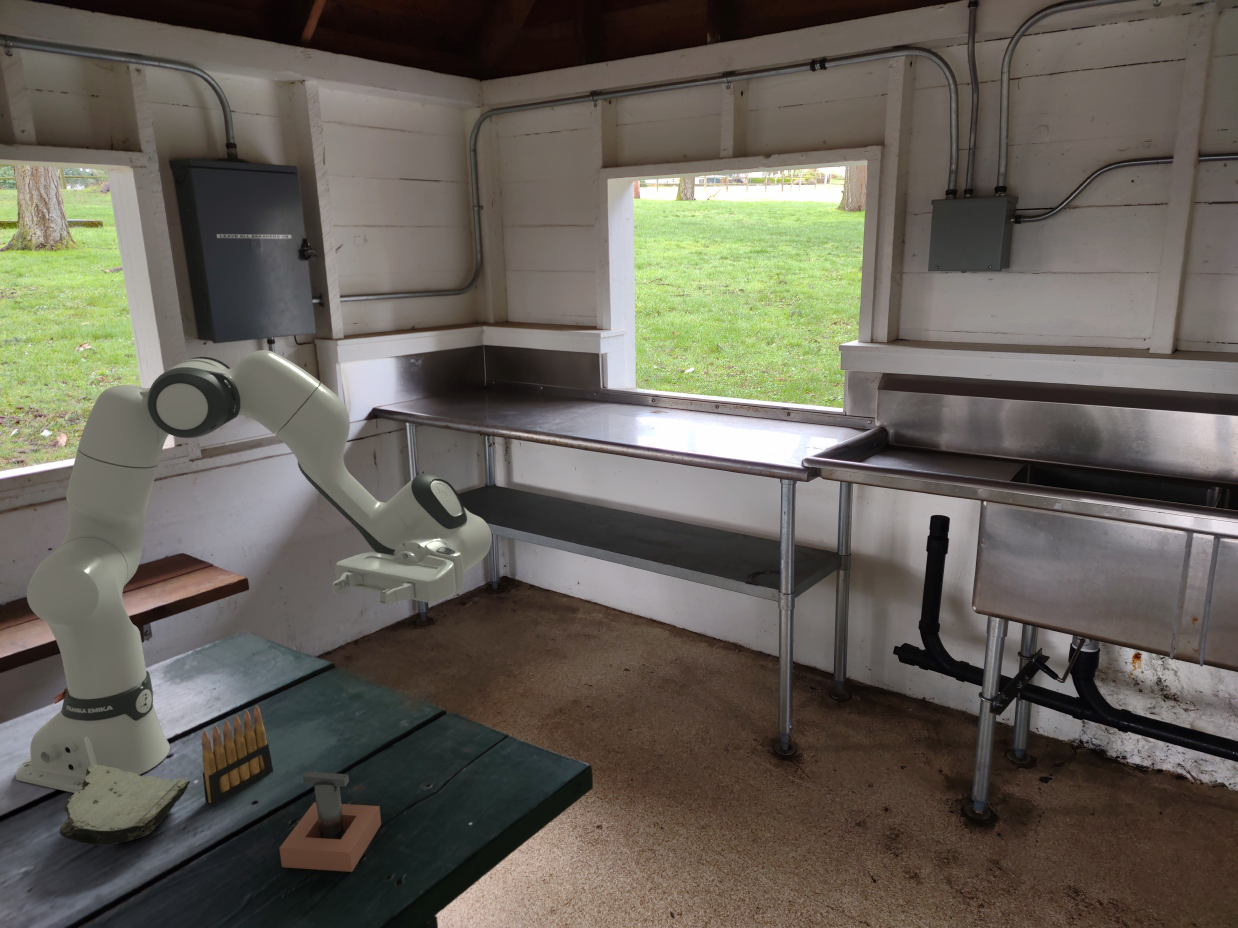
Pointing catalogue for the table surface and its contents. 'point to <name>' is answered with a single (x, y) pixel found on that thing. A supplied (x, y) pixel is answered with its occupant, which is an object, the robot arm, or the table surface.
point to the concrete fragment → (118, 806)
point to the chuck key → (328, 802)
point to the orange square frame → (331, 840)
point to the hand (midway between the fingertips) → (359, 594)
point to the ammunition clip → (235, 758)
